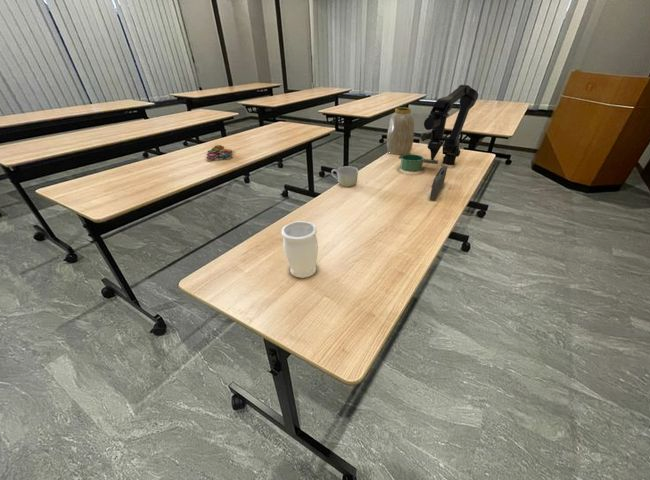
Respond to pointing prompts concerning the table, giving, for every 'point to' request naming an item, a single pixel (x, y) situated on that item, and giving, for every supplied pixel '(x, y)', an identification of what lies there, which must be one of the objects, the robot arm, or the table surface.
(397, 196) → the table surface
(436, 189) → the handheld gaming console
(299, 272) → the jar
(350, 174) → the teacup
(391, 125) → the vase
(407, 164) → the pot
